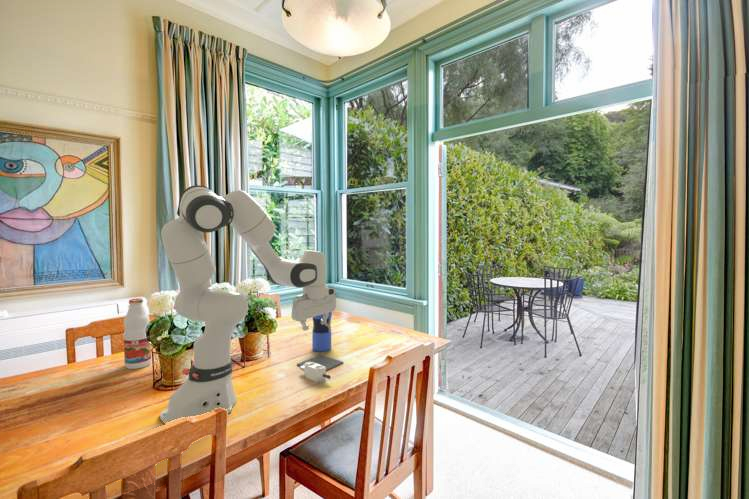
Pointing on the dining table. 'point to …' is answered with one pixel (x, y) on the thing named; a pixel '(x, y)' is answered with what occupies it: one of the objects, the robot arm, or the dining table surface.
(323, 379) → the plug
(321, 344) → the water bottle
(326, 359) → the mat
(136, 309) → the fruit juice
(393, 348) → the dining table surface
